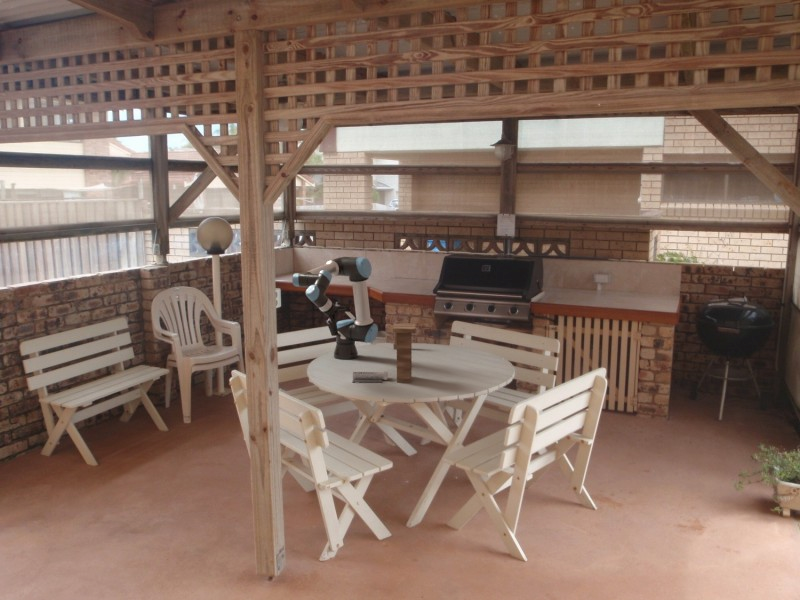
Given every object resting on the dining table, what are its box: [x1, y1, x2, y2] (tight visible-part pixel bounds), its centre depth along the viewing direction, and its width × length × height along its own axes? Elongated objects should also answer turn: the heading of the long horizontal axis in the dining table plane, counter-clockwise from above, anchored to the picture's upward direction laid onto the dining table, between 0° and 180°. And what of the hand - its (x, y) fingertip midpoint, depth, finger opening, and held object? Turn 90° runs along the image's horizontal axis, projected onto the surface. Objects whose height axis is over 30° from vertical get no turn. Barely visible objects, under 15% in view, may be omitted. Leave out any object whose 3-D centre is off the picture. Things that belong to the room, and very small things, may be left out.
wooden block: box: [393, 320, 400, 350], centre depth 453 cm, size 4×11×18 cm, turn 81°
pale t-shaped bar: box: [352, 371, 389, 381], centre depth 381 cm, size 6×19×3 cm, turn 89°
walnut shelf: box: [392, 322, 416, 383], centre depth 379 cm, size 16×12×30 cm
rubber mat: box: [352, 378, 383, 384], centre depth 381 cm, size 14×16×1 cm
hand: (348, 328), depth 390 cm, fingers open, 13 cm apart
